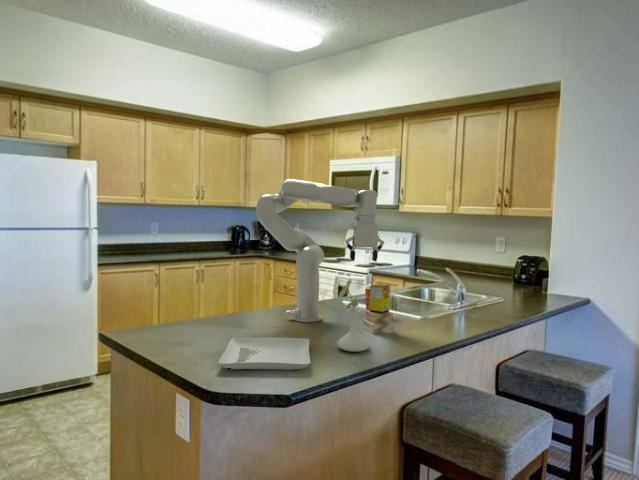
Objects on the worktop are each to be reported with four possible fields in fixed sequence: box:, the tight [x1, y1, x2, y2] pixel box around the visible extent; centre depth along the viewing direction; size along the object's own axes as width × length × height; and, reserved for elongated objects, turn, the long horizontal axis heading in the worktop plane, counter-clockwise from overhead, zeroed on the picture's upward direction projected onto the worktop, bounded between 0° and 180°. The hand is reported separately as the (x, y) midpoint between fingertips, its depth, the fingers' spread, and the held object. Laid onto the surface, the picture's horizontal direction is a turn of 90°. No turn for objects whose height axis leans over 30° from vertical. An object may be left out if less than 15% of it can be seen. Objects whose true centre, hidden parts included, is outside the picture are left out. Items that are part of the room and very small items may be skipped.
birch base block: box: [362, 318, 394, 335], centre depth 190 cm, size 9×9×4 cm
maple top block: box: [365, 309, 394, 325], centre depth 190 cm, size 8×8×4 cm
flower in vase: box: [336, 278, 371, 353], centre depth 162 cm, size 13×11×25 cm
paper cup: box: [364, 283, 372, 311], centre depth 216 cm, size 8×8×14 cm
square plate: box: [217, 337, 311, 370], centre depth 152 cm, size 27×27×4 cm
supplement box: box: [369, 282, 391, 313], centre depth 189 cm, size 6×6×11 cm
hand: (363, 260), depth 199 cm, fingers open, 9 cm apart
